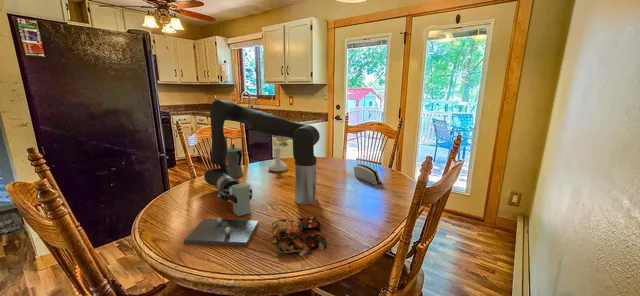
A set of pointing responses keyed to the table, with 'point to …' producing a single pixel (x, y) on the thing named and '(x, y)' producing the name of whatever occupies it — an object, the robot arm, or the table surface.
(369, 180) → the napkin holder
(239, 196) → the block
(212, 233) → the mounting plate
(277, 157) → the flower in vase
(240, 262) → the table surface
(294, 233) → the food
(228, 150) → the coffeepot
